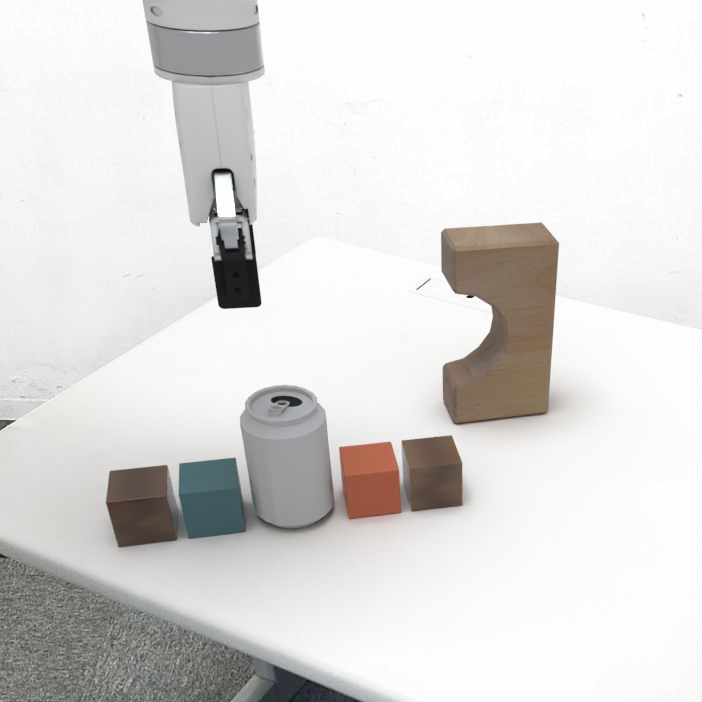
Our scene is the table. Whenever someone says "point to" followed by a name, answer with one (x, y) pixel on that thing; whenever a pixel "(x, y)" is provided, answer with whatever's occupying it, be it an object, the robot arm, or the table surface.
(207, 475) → the block
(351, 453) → the block
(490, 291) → the decorative block
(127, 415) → the table surface
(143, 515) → the block
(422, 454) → the block
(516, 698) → the table surface
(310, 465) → the can
